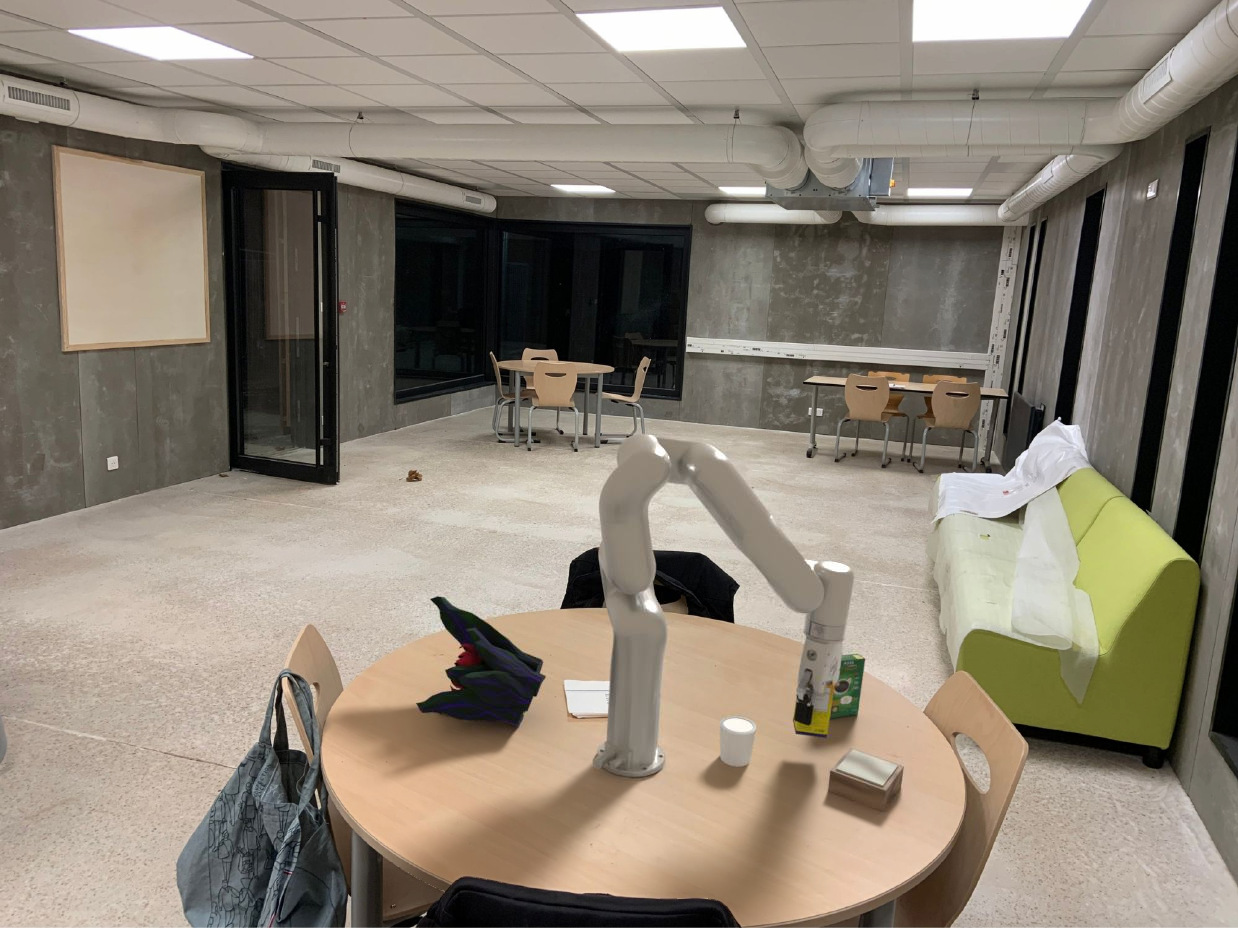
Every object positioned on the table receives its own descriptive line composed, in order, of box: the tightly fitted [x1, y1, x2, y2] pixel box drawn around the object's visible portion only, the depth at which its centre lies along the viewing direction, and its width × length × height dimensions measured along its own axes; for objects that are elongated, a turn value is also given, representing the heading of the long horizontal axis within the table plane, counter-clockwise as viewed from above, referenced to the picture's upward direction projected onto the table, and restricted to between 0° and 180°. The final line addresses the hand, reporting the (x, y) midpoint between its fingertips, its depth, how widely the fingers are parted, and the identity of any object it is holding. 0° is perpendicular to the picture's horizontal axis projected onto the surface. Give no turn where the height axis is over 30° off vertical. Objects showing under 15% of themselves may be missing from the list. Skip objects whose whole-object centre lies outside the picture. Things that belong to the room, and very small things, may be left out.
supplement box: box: [792, 680, 835, 739], centre depth 167 cm, size 6×6×11 cm
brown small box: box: [827, 747, 905, 812], centre depth 158 cm, size 10×10×4 cm
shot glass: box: [719, 715, 758, 768], centre depth 166 cm, size 7×7×7 cm
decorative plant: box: [415, 595, 546, 728], centre depth 178 cm, size 21×26×30 cm
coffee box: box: [830, 653, 866, 719], centre depth 184 cm, size 8×3×13 cm, turn 110°
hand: (811, 714), depth 167 cm, fingers closed on supplement box, 8 cm apart
